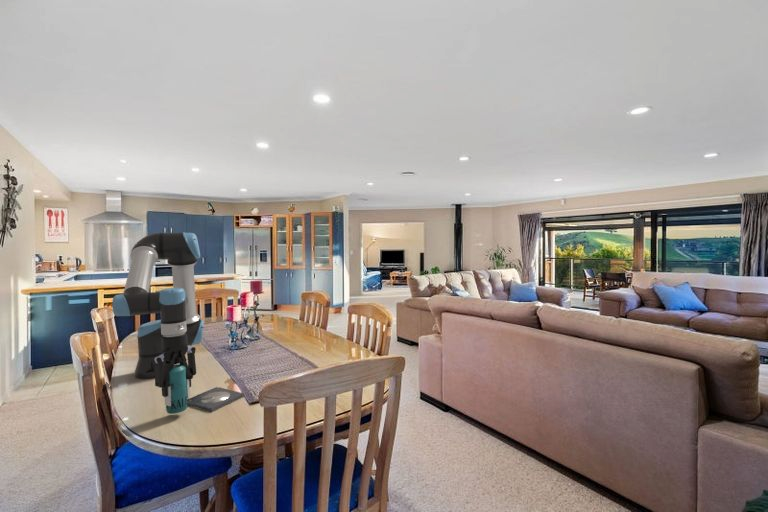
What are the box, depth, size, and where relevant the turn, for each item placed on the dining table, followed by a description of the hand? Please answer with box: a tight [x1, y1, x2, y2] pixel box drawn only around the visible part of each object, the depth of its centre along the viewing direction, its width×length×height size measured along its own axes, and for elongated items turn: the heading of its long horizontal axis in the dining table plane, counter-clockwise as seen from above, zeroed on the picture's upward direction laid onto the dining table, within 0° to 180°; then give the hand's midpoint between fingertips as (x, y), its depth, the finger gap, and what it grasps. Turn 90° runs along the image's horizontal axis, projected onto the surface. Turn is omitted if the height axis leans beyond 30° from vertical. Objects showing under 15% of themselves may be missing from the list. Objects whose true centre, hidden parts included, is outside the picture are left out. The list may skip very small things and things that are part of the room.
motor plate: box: [187, 386, 245, 413], centre depth 138 cm, size 16×14×1 cm
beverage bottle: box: [165, 356, 188, 415], centre depth 126 cm, size 6×7×20 cm
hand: (177, 401), depth 126 cm, fingers closed on beverage bottle, 6 cm apart
